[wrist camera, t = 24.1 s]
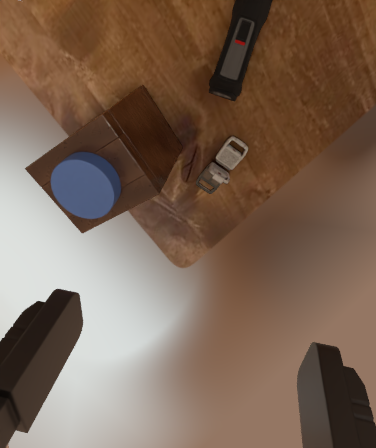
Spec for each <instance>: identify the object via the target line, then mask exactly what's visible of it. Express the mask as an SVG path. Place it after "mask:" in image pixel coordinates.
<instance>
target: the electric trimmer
mask: <svg viewBox="0 0 376 448" xmlns="http://www.w3.org/2000/svg"><path fill="white" fill-rule="evenodd" d="M271 3H272V0H236V1H235V4H234V7H233V13H232V20H231V24H230V28H229V31H228V34H227V37H226V40H225V43H224V46H223V49H222V52H221V55H220V58H219V61H218V63H217V66H216V69H215V72H214V75H213V76H212V78H211V79H210V82H209V86H210V89H209V93H211V94H214V95H217V96H220V97H223V98H226V99H229V100H232V101H235V100H236V98H237V96H239V95H240V93H241V89H242V82H243V79H244V76H245V73H246V69H247V66H248V63H249V60H250V57H251V54H252V51H253V48H254V45H255V42H256V39H257V37H258V34H259V32H260V30H261V27H262V26H263V24H264V23H265V21H266V19H267V16H268V13H269V10H270V6H271Z"/></svg>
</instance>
